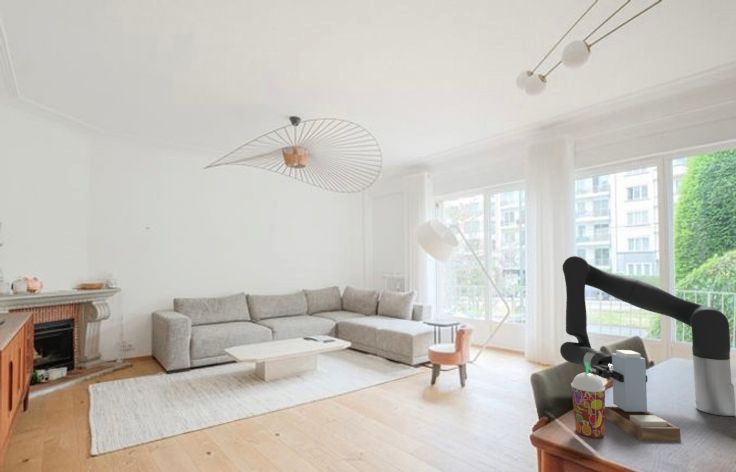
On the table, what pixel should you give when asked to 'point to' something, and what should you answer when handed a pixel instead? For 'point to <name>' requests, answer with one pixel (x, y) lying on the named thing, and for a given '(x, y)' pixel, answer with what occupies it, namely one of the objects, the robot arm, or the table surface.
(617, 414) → the crate
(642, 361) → the carton
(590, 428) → the smoothie
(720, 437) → the table surface
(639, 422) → the off-white rectangular block
